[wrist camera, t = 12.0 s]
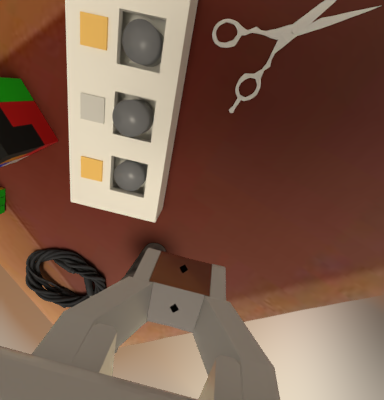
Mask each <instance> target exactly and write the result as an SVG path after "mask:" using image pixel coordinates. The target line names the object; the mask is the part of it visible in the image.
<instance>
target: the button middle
mask: <svg viewBox="0 0 384 400" xmlns="http://www.w3.org/2000/svg"><path fill="white" fill-rule="evenodd" d="M112 118H113V123H114V125H115V127H116V129H117V130H118V131H119V132H120V133H121V134H123V135H125V136H128V137H135V136H138V135H140V134H142V133H144V132H146V131H148V130H149V129H150V128H151V127H152V125H153V121H154V114H153V111H152V109H151V107H150V106H149V104H147V103H146V102H145V101H143V100H139V99H133V100H123V101H121V102H119V103H118V104H117V105H116V106H115V108H114V110H113V114H112Z"/></svg>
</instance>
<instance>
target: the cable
mask: <svg viewBox="0 0 384 400" xmlns="http://www.w3.org/2000/svg"><path fill="white" fill-rule="evenodd" d="M52 259H53V260H54V261H55V263H57V264H58V265H59V266H61V267H62V268H64V269H65V270H67V271H68V272H70V273H73V274H74V273H77V274H79V275H81V276H82V277H84V282H85V285H86V290H87V295H86V296H78V295H77V294H75V293H74V292H72V291H70V290H69V289H67V288H65V289H64V288H61V287H59V286H57V285H56V284H54V283H52V282H50V281H48V280H45V279H43V278H42V275H41V272H40V268H39V267H40V263H42V262H44V261H48V260H52ZM37 260H38V261H37ZM36 261H37V262H36ZM35 262H36V263H35ZM26 265H27V266H26V284H27V286H28V287H29V288H30V289H31V290H33V291H35V292H36V294H37V295H38V296H39V297H40V298H42V299H43V300H46V301H50V302H53V303H55V304H58V305H60V306H62V307H63V308H66V307H73V306H75V305H77V304H79V303H81V302H82V301H84V300H86V299H88V298H90V297H92V296H93V295H95V294H97V293H99V292H101V291H103V290H104V289H105V287H106V286H105V279H104V278H103V277H100V275H99V274H98V272H97V270H96V269H95V268H93V267H91V266H89V265H88V264H87V263H86V262H85V261H84V259H83V258H82V257H81V256H79V255H78V254H76V253H73V252H69V251H64V250H53V249H50V250H39V251H35V252H33V253H32V254H31V255H30V256H29V257H28V259H27V262H26ZM92 281H93V282H94V283H95V289H94V290H93V285H92ZM48 283H49V284H51V285H53V286H55V287H52V286H50V285H49V284H48ZM42 285H43V286H44V287H45V288H46V289H47V290H46V289H44V288H43V287H42Z"/></svg>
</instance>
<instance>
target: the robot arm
mask: <svg viewBox="0 0 384 400" xmlns="http://www.w3.org/2000/svg"><path fill="white" fill-rule="evenodd" d="M146 321H150V322H154V323H158V324H163V325H167V326H171V327H174V328H178V329H181V330H185V331H188V332H192V333H193V336H194V339H195V341H196V344H197V347H198V349H199V352H200V355H201V358H202V360H203V363H204V366H205V369H206V371H207V374H208V378H207V381H206V383H205V385H204V388H203V390H202V393H201V395H200V397H199V399H194V398H191V397H187V396H183V395H179V394H176V393H172V392H168V391H165V390H161V389H157V388H153V387H149V386H146V385H142V384H139V383H135V382H131V381H127V380H124V379H120V378H116V377H113V376H112V373H113V364H114V354H115V350H116V349H117V348H118V347H119V346H120V345H121V344H122V343H124V342H125V341H126V340H127V339H128V338H129V337H130V336H131V335H132V334H133V333H135V332H136V331H137V330H138V329H139V328H140V327H141V326H142V325H143V324H144V323H146ZM0 400H280V397H279V391H278V386H277V380H276V375H275V369H274V367H273V365H272V364H271V362H270V361H269V359H268V358H267V356H266V355H265V354H264V352H263V350H262V349H261V347H260V346H259V345H258V343H257V342H256V340H255V339H254V337H253V336H252V334H251V333H250V331H249V330H248V328H247V327H246V325H245V324H244V322H243V321H242V319H241V318H240V316H239V315H238V313H237V312H236V310H235V309H234V308H233V306H232V305H231V303H230V302H227V301H226V269H225V267H224V266H219V265H215V264H209V263H205V262H201V261H197V260H193V259H189V258H185V257H182V256H178V255H174V254H171V253H167V252H164V251H159V250H156V249H152V248H148V249H147V250H146V252H145V254H144V256H143V258H142V260H141V262H140V264H139V266H138V268H137V270H136V272H135V274H134V276H133V277H130V276H128V277H127V278H125V279H123V280H121V281H119V282H117V283H116V284H114V285H112V286H110V287H108V288H106V289H104V290H103V291H101V292H99V293H97V294H95V295H93V296H92V297H90V298H88V299H86V300H84V301H82V302H81V303H79V304H77V305H75V306H73V307H71V308H69V309H68V310H66V311H64V312H63V313H62V314H61V316H60V317H59V318H58V320H57V321H56V322H55V324H54V325H53V327H52V328H51V329H50V331H49V332H48V333H47V335H46V336H45V337H44V339H43V340H42V341H41V343H40V344H39V345H38V347H37V348H36V349H35V351H34V352H33V353H32V355H31V354H27V353H23V352H20V351H16V350H12V349H9V348H5V347H1V346H0Z"/></svg>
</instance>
